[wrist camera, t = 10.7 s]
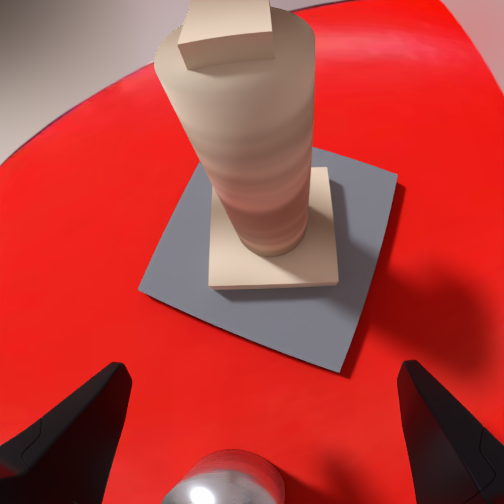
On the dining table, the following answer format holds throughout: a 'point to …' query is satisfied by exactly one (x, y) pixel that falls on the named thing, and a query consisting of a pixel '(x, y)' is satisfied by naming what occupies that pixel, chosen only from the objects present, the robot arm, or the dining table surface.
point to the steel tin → (229, 481)
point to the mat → (281, 299)
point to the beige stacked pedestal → (254, 141)
